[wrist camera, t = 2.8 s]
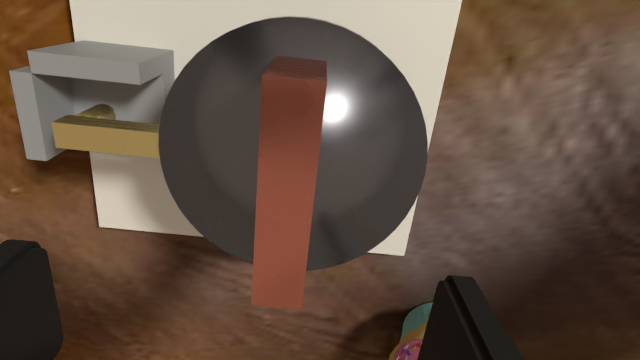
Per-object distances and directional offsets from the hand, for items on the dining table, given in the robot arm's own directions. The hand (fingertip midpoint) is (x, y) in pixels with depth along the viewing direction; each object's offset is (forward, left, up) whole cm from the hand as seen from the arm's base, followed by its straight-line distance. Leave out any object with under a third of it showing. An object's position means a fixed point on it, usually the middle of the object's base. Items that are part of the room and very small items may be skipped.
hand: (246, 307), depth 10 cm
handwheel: (+2, 0, -14) cm, 14 cm away
